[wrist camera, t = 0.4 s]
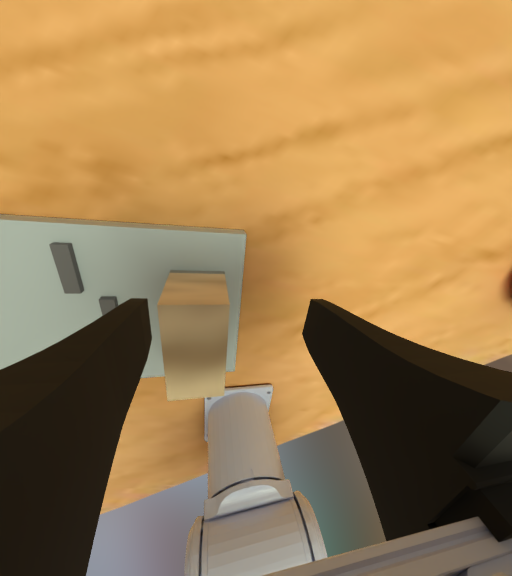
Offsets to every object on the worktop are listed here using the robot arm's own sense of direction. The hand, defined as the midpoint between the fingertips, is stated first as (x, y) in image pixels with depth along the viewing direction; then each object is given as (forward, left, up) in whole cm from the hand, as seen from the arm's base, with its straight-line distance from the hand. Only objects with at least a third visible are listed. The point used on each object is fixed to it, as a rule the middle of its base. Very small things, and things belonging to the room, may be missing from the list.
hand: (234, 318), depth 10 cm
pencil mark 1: (-1, +10, -8) cm, 13 cm away
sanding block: (-5, +2, -8) cm, 10 cm away
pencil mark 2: (-5, +8, -8) cm, 13 cm away
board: (-5, +8, -10) cm, 14 cm away
